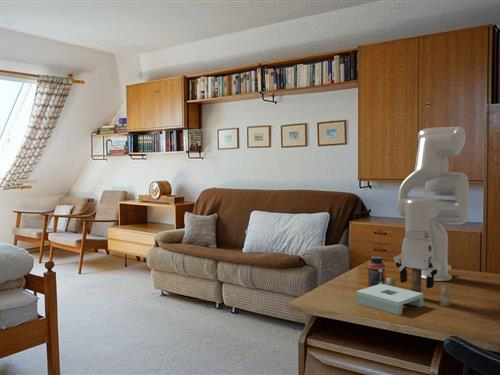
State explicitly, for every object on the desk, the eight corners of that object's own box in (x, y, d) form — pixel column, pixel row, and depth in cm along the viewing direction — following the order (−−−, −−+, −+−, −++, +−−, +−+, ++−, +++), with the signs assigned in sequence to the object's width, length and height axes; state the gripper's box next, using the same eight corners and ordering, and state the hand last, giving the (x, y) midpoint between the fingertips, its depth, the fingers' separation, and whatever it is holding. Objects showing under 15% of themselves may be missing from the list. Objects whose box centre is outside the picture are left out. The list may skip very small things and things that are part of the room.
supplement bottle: (385, 289, 164) (385, 259, 163) (368, 289, 165) (368, 258, 164) (383, 285, 170) (384, 255, 169) (367, 284, 171) (367, 255, 170)
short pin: (389, 289, 163) (389, 276, 163) (397, 291, 161) (397, 277, 161) (385, 291, 161) (385, 277, 161) (392, 293, 159) (392, 279, 159)
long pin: (414, 296, 156) (415, 267, 155) (422, 297, 153) (423, 269, 153) (410, 297, 154) (410, 268, 153) (418, 299, 151) (418, 270, 151)
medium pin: (442, 302, 148) (442, 283, 147) (451, 304, 145) (451, 285, 145) (437, 304, 146) (437, 285, 146) (446, 306, 144) (446, 286, 143)
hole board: (381, 294, 158) (381, 283, 157) (423, 305, 145) (423, 293, 145) (356, 302, 149) (356, 291, 149) (398, 315, 136) (398, 302, 136)
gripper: (447, 237, 148) (446, 288, 149) (400, 231, 161) (400, 278, 162) (435, 239, 143) (434, 292, 144) (388, 233, 157) (388, 281, 157)
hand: (416, 284), depth 153 cm, fingers open, 9 cm apart
